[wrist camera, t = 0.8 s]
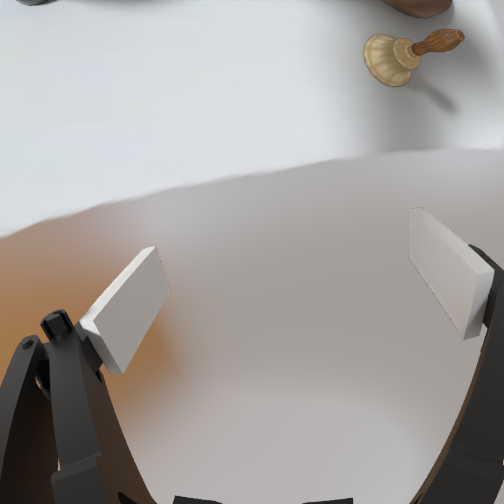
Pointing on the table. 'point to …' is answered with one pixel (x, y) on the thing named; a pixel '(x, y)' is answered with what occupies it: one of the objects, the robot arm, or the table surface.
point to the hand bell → (404, 54)
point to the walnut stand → (420, 7)
